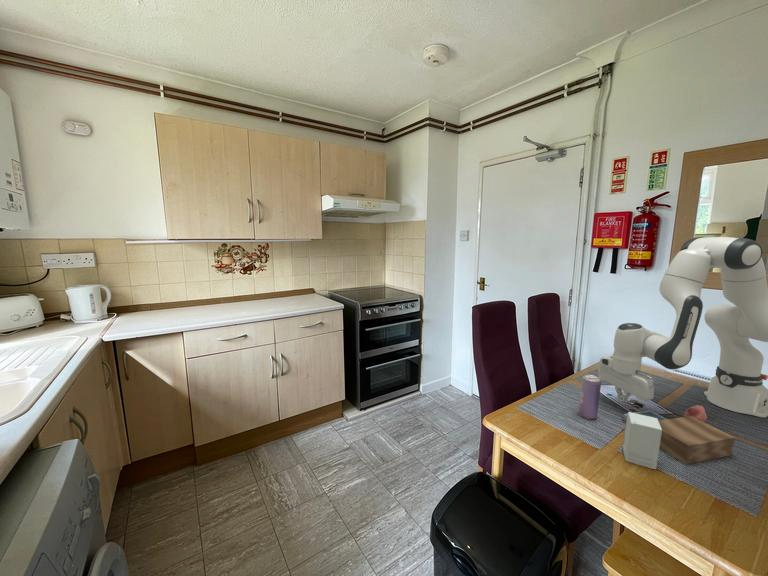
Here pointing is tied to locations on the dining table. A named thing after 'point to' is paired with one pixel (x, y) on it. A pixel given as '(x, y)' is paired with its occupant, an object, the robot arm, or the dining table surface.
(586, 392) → the beverage can
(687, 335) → the robot arm
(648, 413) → the grey-blue tray
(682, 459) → the cubby
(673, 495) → the dining table surface
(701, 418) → the flower
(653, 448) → the supplement box
